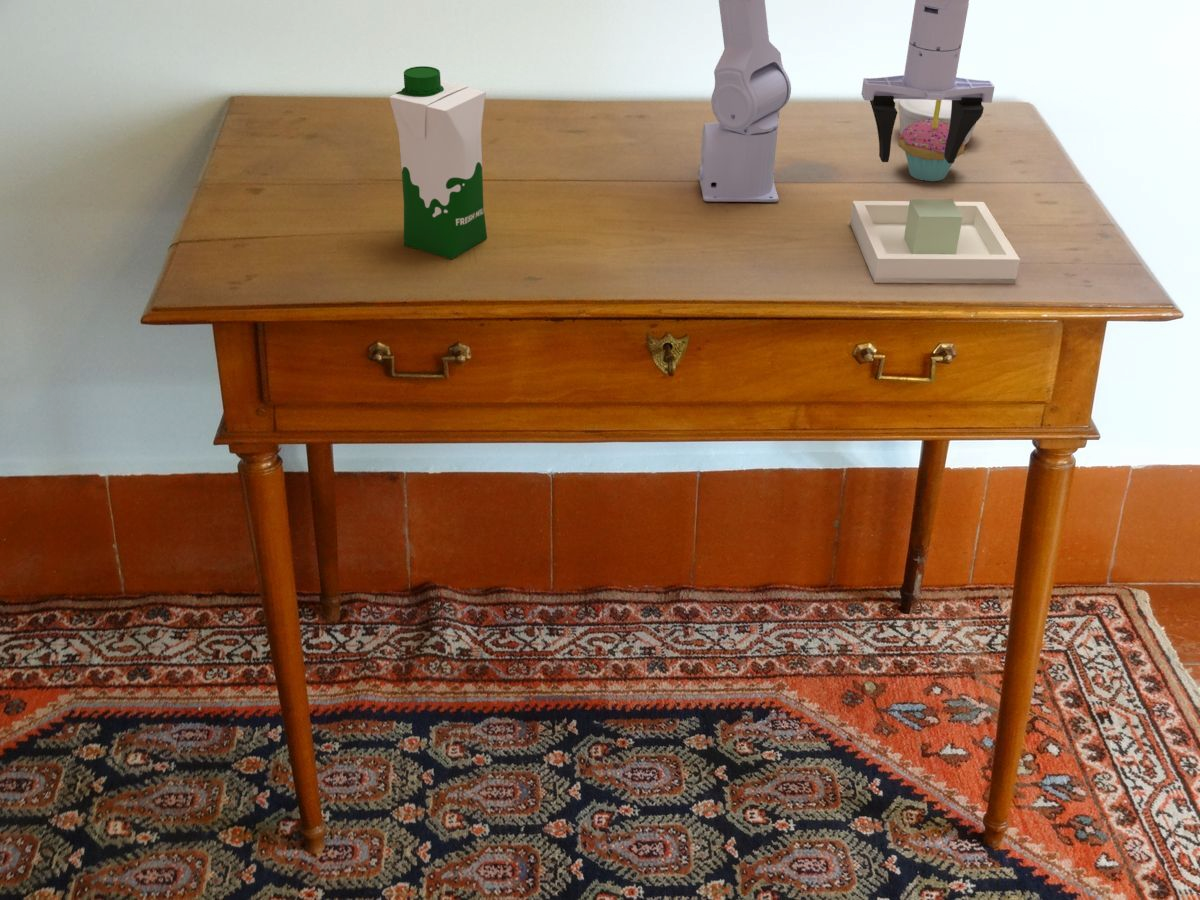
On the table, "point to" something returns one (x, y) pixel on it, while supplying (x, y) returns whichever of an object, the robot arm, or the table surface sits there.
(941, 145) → the cupcake
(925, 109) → the ramekin
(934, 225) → the sage block
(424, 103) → the milk carton
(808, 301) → the table surface
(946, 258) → the cream bin
